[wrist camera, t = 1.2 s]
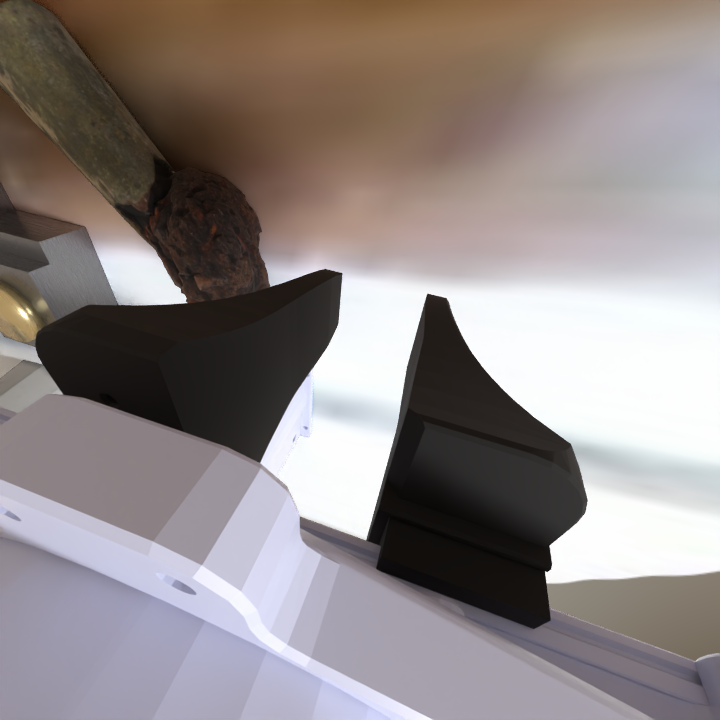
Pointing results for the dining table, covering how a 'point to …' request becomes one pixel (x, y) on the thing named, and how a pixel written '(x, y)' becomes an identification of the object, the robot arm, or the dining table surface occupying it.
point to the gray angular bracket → (44, 272)
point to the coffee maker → (25, 386)
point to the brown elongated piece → (129, 160)
